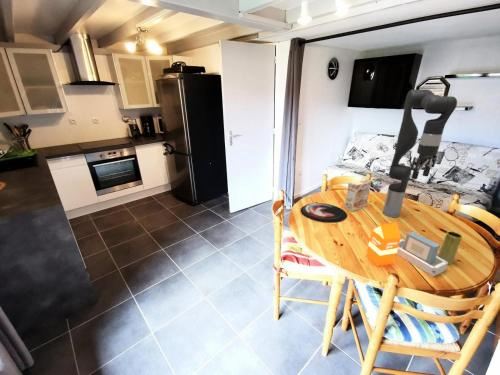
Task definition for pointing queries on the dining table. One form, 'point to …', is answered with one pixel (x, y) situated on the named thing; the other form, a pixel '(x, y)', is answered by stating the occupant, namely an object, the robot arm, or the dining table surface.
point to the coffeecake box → (357, 194)
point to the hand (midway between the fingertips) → (419, 177)
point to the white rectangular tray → (432, 269)
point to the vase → (450, 247)
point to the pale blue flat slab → (421, 247)
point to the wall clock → (324, 212)
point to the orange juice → (384, 244)
